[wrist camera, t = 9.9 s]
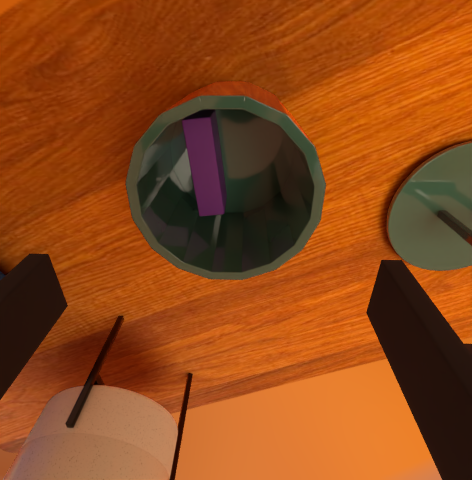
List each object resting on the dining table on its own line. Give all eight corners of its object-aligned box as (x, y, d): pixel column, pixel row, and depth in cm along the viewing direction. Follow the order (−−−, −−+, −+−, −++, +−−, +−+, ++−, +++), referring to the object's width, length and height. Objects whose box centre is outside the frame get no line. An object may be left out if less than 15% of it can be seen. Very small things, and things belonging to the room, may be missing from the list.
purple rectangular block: (215, 108, 26) (189, 111, 26) (210, 116, 23) (181, 120, 23) (227, 196, 30) (204, 198, 30) (224, 214, 27) (199, 216, 27)
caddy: (156, 81, 26) (107, 95, 17) (307, 80, 25) (340, 95, 16) (172, 215, 32) (143, 278, 23) (293, 216, 32) (311, 281, 23)
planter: (56, 350, 44) (-103, 596, 24) (136, 302, 38) (19, 564, 19) (133, 404, 50) (58, 635, 30) (212, 368, 45) (184, 619, 25)
